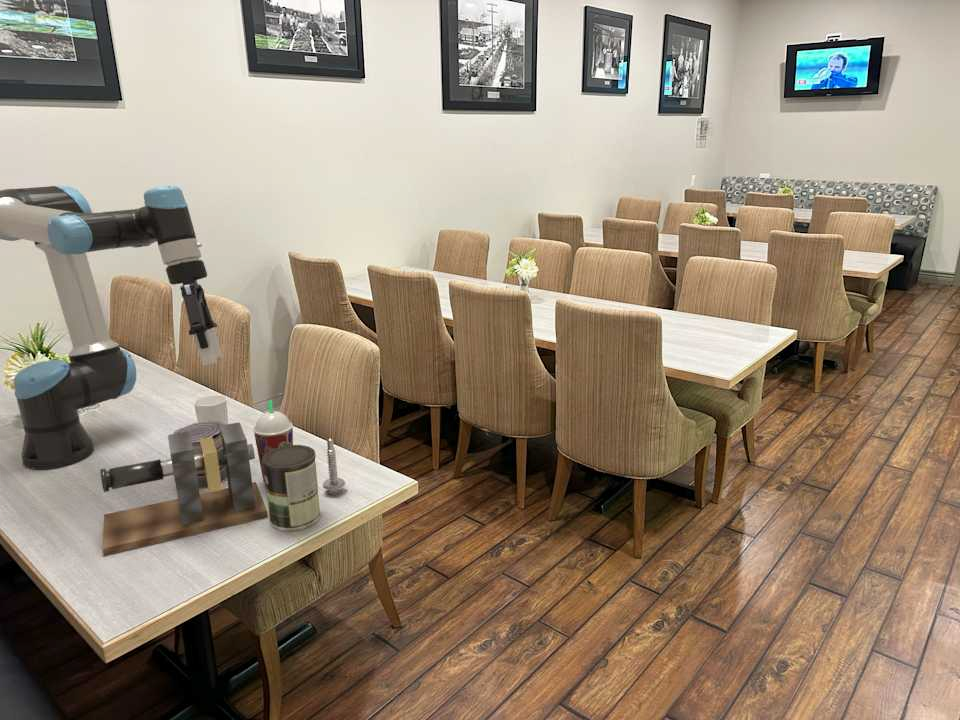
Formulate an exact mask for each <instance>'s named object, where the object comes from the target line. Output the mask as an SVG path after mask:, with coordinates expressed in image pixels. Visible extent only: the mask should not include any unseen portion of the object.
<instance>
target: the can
mask: <svg viewBox="0 0 960 720" xmlns="http://www.w3.org/2000/svg"><path fill="white" fill-rule="evenodd" d="M221 425H224V424H222V423H220V422H217V421H215V420H213V421H205V422H198V421H197V422H192V423H190V424H188V425H186V426H183V427H181V428H179V429H176V430H174V432H173V433H172V434H176V433H182V432H187V431H189V434H190V439H191V443H192V448H193V453H194V455H196V454H201V446H200V440H199V439H202V438H208V437H212V438H213V441H214V444H215V447H216V451H217V450H222V449H223V447H222V440H221V433H220V426H221ZM219 470H220V477H221V484H222V483H224V481H225V480H227V475H226V468H225V465H222V466H219ZM196 473H197V479H198V486H199V489H208V486H207V482H206V478H205V473H204V469H202V470H197V471H196Z"/></svg>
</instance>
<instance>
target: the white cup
mask: <svg viewBox="0 0 960 720" xmlns="http://www.w3.org/2000/svg"><path fill="white" fill-rule="evenodd" d="M193 405H194V411H195V416H196V420H197V422H205V421H213V420H215V421H217V422H220V423H222V424H224V425H227V424H229V417H228V403H227V397H226V396H224V395H222V394H220V395H219V394H212V395H205V396H201V397H199V398H197V399H195V400H194V402H193Z"/></svg>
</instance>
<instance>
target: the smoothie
mask: <svg viewBox="0 0 960 720" xmlns="http://www.w3.org/2000/svg"><path fill="white" fill-rule="evenodd" d="M272 400H273V399H269V400H268V407H269V411H266V412H264V413H263V414H261V415H259V416H260V417H258V419H257V420H256V422H255V425H254V427H253V429H252V430H253V431H252V432H253V433H254V434H253V436H254V439H255V444H256V450H257V455H258V460H259V465H260V470H261V475H262V479H263V480H262V481H263V482H264V483H265V476H264V468H263V464H262V457H263V456H264V455H265V454H266V453H267V452H269V451H271V450H273V449H275V448H278V447H282V446H288V445H294V432H293V427H294V426H293V423H292V422H291V421H290V419H289V418H288V416H287V415H285V414H284V413H282V412H280V411H278V410H273V409H274V407H273V401H272Z"/></svg>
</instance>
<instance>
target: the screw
mask: <svg viewBox="0 0 960 720" xmlns="http://www.w3.org/2000/svg"><path fill="white" fill-rule="evenodd" d="M326 445H327V450H326V451H327V452H326V454H327V455H326V456H327V457H326V458H327V466H328V467H327V468H328V470H327V471H328V479H326V480H325V481H324V482H323V483H322V488H323V489H325V490H327V492H328V493H329V495H331V496H333V495H335V496H336V495H339V494H340V493H341V492H342V488H344V487H345V485H346V481H345V480H344V479H343V478H341V477H338V467H337V455H336V454H337V453H336V450H335V449H336V447H334V439H333V438H331V437H328V438H327V439H326Z"/></svg>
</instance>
